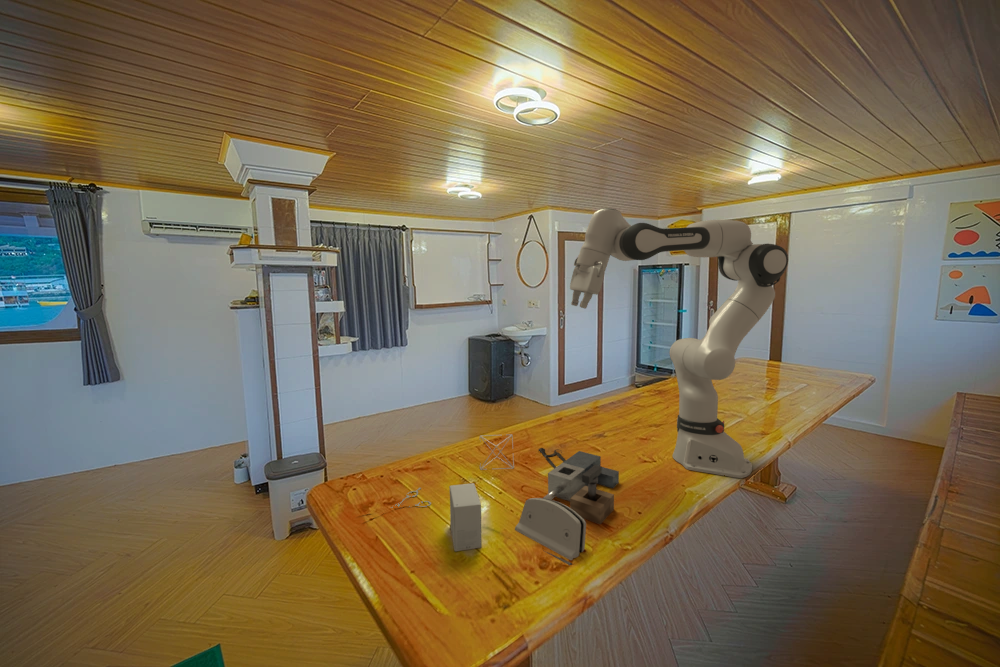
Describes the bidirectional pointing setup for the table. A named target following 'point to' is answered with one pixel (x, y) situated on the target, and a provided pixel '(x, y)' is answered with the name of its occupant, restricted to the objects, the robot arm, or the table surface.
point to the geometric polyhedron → (499, 452)
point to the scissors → (414, 496)
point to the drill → (577, 476)
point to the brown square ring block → (592, 505)
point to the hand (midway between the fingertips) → (578, 306)
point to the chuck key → (592, 480)
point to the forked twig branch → (551, 456)
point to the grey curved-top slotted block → (553, 527)
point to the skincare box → (465, 517)
